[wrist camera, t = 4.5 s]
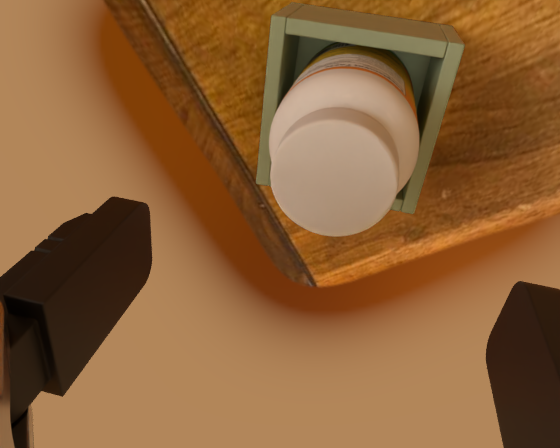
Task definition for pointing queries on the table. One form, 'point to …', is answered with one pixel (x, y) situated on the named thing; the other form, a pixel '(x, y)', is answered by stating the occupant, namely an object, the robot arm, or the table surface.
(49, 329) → the robot arm
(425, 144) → the caddy
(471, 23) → the table surface
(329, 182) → the supplement bottle
